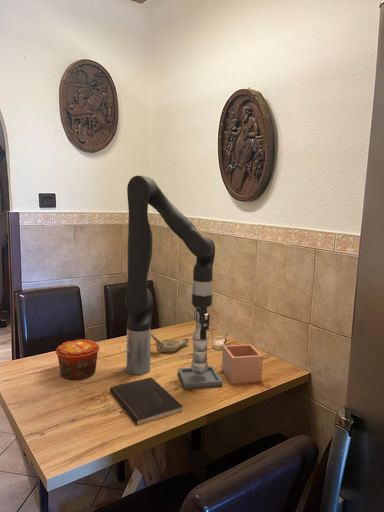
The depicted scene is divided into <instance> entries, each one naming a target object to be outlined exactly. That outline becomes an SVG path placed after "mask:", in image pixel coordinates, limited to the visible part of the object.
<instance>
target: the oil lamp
mask: <svg viewBox="0 0 384 512" xmlns="http://www.w3.org/2000/svg"><path fill="white" fill-rule="evenodd" d="M151 337H152V339H153V341H155V346H156V351H157V352H159V353H161V352H164V353H174V352H176V351H177V350H178V349H179V348H180V347H182V346H185V345H187V344H188V343H189V342H190V339H189V338H180V339H173V338H169V339H168V338H167V339H163V340H162V341H161V339H159V338H158V337H156V336H155V335H154V334H153V333H151Z"/></svg>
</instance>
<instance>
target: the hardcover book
mask: <svg viewBox="0 0 384 512" xmlns="http://www.w3.org/2000/svg"><path fill="white" fill-rule="evenodd" d="M109 392H110V394H111V395H112V397H114V399H115V400H116V401H117V402H118V404H119V405H120V406H121V407H122V409H123V410H124V412H126V414H127V415H128V416H129V418H130V419H131V420H132V422H133V423H134V424H135V425H136V426H138V425H141V424H144V423H147V422H151V421H154V420H157V419H160V418H163V417H166V416H171V415H173V414H177V413H180V412H182V408H183V407H184V406H183V405H182V404H181V403H180V402H179V401H178V400H177V399H175V398H174V397H173V396H172V395H171V394H170V393H169V392H168V391H167V390H166V389H165V388H163V386H161V384H160V383H158V382H157V381H156V380H155V379H154V378H153V377H152V376H151V377H150V376H149V377H146V378H143V379H142V378H141V379H138V380H135V381H131V382H129V381H128V382H126V383H121V384H117V385H114V386H111V387H109Z"/></svg>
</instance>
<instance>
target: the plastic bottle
mask: <svg viewBox="0 0 384 512" xmlns="http://www.w3.org/2000/svg"><path fill="white" fill-rule="evenodd" d="M201 321H202V320H201ZM204 326H205V324H204ZM196 327H197V328H196ZM191 338H192V339H191V340H192V351H193V352H192V353H193V354H192V360H191V366H190V368H191V369H192V371H193V373H195V374H198V375H202V374H205V373H206V372H207V370H208V366H209V362H208V347H209V346H208V345H209V340H210V334H209V332H208V330H207V331H206V339H205V340H201V339H200V324H199V323H198V321H196V323H195V329H194V331H193V332H192V335H191Z"/></svg>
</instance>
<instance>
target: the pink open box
mask: <svg viewBox="0 0 384 512" xmlns="http://www.w3.org/2000/svg"><path fill="white" fill-rule="evenodd" d="M221 357H222V359H221V370H222V372H223V374H224V375H225V377H226V378H227V380H228V381H229V382H230V384H232V385H233V384H244V383H253V382H254V383H255V382H262V381H263V380H262V378H263V376H262V375H263V363H264V358H263V357H264V356H263V354H261V352H259V351H258V350H257V348H255V347H254V346H253V344H250V343H249V344H233V345H232V344H231V345H222V354H221Z"/></svg>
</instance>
